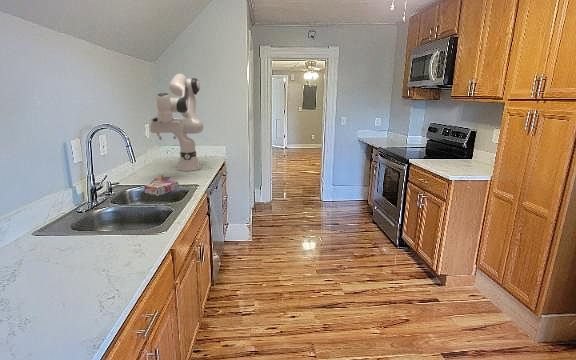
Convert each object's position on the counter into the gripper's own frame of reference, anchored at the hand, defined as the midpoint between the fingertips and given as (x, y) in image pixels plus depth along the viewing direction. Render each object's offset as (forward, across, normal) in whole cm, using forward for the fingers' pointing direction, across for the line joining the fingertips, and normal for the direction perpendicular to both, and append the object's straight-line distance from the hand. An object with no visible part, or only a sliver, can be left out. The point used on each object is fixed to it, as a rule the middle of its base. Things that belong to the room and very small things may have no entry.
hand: (167, 139), depth 223 cm
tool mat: (+28, +6, +8) cm, 29 cm away
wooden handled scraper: (+27, +6, +9) cm, 29 cm away
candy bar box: (+24, -5, +24) cm, 35 cm away
